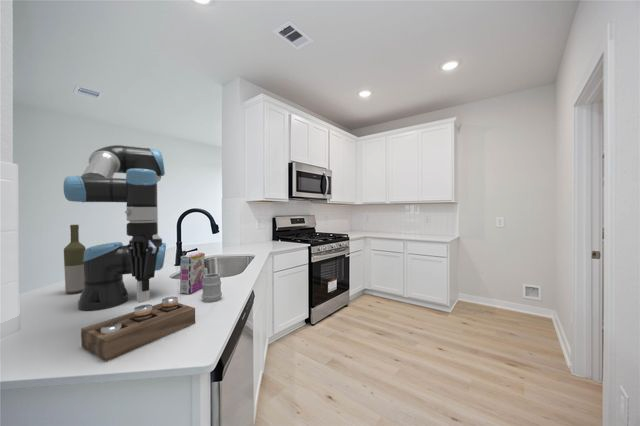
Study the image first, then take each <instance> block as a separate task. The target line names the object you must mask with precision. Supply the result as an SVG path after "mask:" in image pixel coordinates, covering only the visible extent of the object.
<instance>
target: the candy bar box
mask: <svg viewBox="0 0 640 426" xmlns="http://www.w3.org/2000/svg"><path fill="white" fill-rule="evenodd" d="M205 257H206V256H205V253H204V252H194V253H189V254H186V255H181V256H180V262H179V263H180V271H179V272H180V283H179V289H180V290H179V294H180V295H191V294H193V293H195V292H197V291H199V290H201V289H202V279H203V273H204V268H205V261H206V260H205V259H206V258H205Z"/></svg>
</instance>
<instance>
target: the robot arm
mask: <svg viewBox="0 0 640 426" xmlns="http://www.w3.org/2000/svg"><path fill="white" fill-rule="evenodd" d="M165 171H166V170H165V164H164V158H163V155H162V152H161V151H160V150H159V149H154V148H150V147H137V146H131V145H130V146H129V145H120V144H119V145H117V144H115V145H109V146H105V147H104V146H103V147H101V148H99V149H97V150H95V151H93V152H92V153H91V154H90V156H89V158H88V165H87V167H86V168H85V170H84V171H83V173H82V174H81V175H69V176H66V177H65V178H64V180H63V194H64V197H65V199H66V200H67V201H69V202H74V203H75V202H76V203H77V202H78V203H126V210H125V211H124V213H125V214H126V221H128V222H127V223H126V235H127V236H128V237H132V238H131V239H129V241H128V244H127V245H126V244H125V245H124V244H123V242H121V241H118V242H109V243H103V244H97V245H93V246H89V247H87V248H86V250H85V251H84V260H83V262H84V288H83V291H82V292H81V294H80V297H79V298H78V301H77V308H78V310H81V311H96V310H98V311H99V310H104V309H108V308H113V307H115V306H116V307H117V306H120V305H122V304H124V303H126V302H128V300H129V292H128V290H127V287H126V286H125V283H124V276H123V275H131V276H132V278H133V277H134V279H135V280H136V304H137V303H138V304H142V303H145V302H149V301H150V299H151V298H150V279H152V278H155V273H156V272H157V271H160V270H162V269H163V267H164V263H165V257H166V250H167V249H166V248H167V243H166V242H163V238H162V237H160V236H159V231H158V230H159V227H158V225H159V224H158V222H159V221H158V220H159V219H158V213H159V211H158V183H159V182H160V181H161V179H162V177H163V176H165V175H166V173H165ZM115 174H125V178H119V177H118V178H116V177H114V175H115Z"/></svg>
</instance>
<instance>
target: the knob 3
mask: <svg viewBox="0 0 640 426" xmlns="http://www.w3.org/2000/svg"><path fill="white" fill-rule="evenodd" d="M161 303H162V311H163V312H166V313H168V312H170V311H173V310H176V309H178V303H179V298H178V296H168V297H164V298H162V299H161Z"/></svg>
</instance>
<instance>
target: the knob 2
mask: <svg viewBox="0 0 640 426" xmlns="http://www.w3.org/2000/svg"><path fill="white" fill-rule="evenodd" d="M152 306H153V305H152V304H142V305H141V304H140V305H138V306H135V307H134V310H133V312H134V321H135V322H137V323H139V322H142V321H145V320H148V319H151V318H152V313H153V312H152Z"/></svg>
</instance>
